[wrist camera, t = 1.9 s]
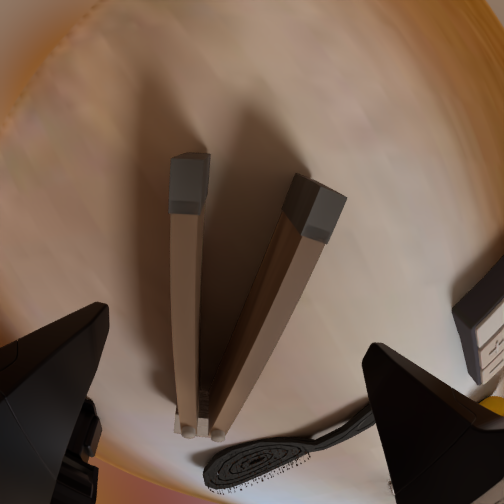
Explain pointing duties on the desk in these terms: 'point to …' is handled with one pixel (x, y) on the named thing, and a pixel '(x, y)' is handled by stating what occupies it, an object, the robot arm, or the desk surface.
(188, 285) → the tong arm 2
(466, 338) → the calculator
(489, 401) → the duckling
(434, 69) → the desk surface
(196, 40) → the desk surface
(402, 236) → the desk surface
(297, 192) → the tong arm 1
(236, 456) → the hairbrush
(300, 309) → the desk surface
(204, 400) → the tong hinge block
